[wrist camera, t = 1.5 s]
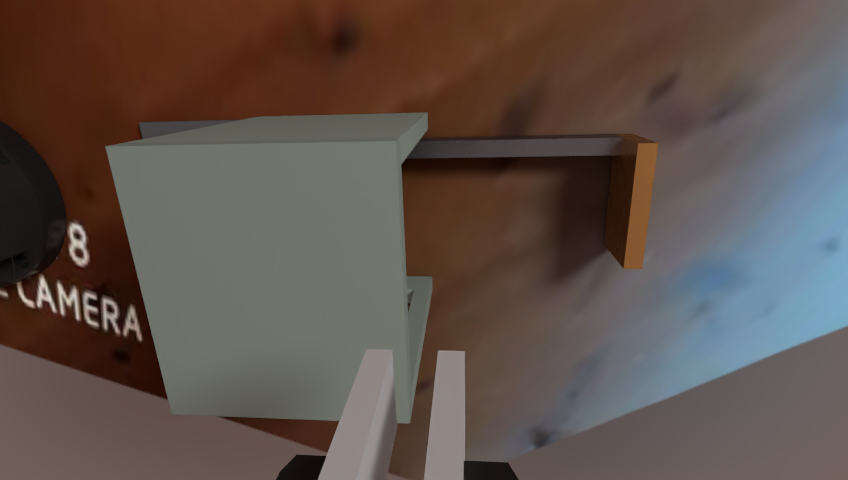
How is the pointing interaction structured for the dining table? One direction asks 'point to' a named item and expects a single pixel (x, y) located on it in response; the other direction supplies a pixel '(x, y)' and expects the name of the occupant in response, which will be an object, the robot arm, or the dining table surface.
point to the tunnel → (275, 260)
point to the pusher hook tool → (628, 150)
